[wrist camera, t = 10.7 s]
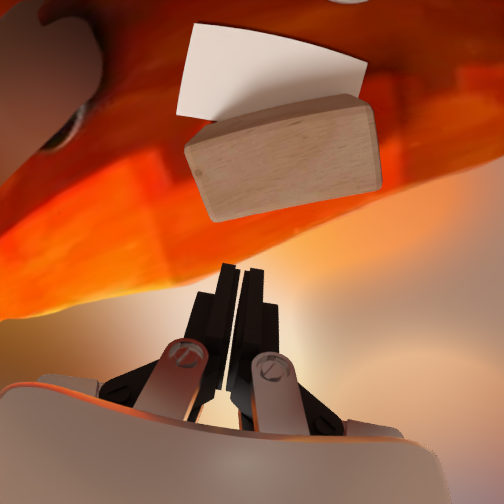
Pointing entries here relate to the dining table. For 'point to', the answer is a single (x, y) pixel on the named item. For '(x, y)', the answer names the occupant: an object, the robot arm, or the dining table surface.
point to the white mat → (259, 73)
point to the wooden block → (286, 156)
